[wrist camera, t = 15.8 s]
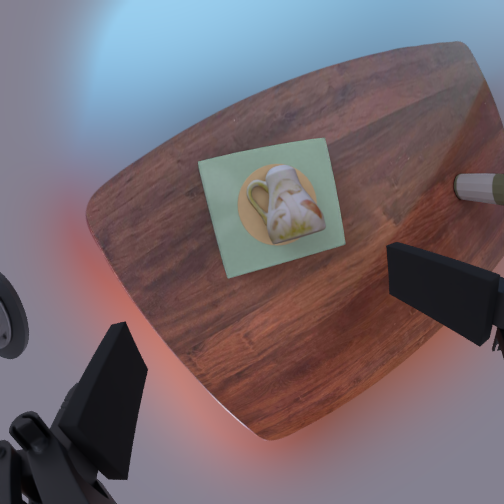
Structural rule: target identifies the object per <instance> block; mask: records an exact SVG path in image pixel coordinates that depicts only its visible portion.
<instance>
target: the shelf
mask: <svg viewBox="0 0 504 504" xmlns="http://www.w3.org/2000/svg"><path fill="white" fill-rule="evenodd" d="M279 165H289V166H291V167H293V168H294V169H295V170H296V173H297V176H298V179H299V182H300V184H301V185H302V187H303V188H304V190H305V191H306V192H307V193H308V194H309V196H310V197H311V198H312V199H313V200H314V202H315V203H316V204H317V205H318V207H319V208H320V210H321V211H322V213H323V216H324V220H325V224H326V228H325V229H324V230H322V231H320V232H317V233H313V234H310V235H307V236H304V237H300V238H297V239H293V240H290V241H286V242H282V243H278V244H272V242H271V240H270V237H269V235H268V230H267V226H266V225H265V224H264V221H263V219H262V217H261V216H260V215H259V213H258V212H257V211H256V209H255V208H254V207H253V206H252V205H251V204H250V202H249V200H248V198H247V187H248V185H249V184H250V183H251V182H252V181H253V180H262V181H264V182H265V181H266V180H265V178H266V175H267V173H268V171H269V170H270V169H272V168H273V167H276V166H279ZM198 168H199V172H200V176H201V181H202V185H203V189H204V193H205V197H206V201H207V205H208V209H209V213H210V217H211V220H212V224H213V228H214V232H215V236H216V240H217V243H218V247H219V251H220V255H221V258H222V262H223V266H224V269H225V272H226V274H227V277H228V278H232V277H235V276H239V275H242V274H246V273H249V272H253V271H256V270H260V269H263V268H267V267H270V266H274V265H277V264H281V263H284V262H288V261H291V260H295V259H298V258H301V257H305V256H308V255H312V254H315V253H318V252H322V251H325V250H328V249H332V248H335V247H338V246H342V245H345V238H344V231H343V225H342V219H341V213H340V207H339V202H338V196H337V191H336V186H335V181H334V176H333V172H332V167H331V162H330V158H329V154H328V149H327V145H326V141H325V138H317V139H310V140H303V141H297V142H290V143H284V144H278V145H273V146H267V147H262V148H257V149H252V150H247V151H242V152H237V153H233V154H228V155H224V156H220V157H215V158H211V159H207V160H203V161H199V162H198ZM252 196H253V199H254V200H255V201H256V203H257V204H258V205H259V206H260V207H261V208H262V209H263V210H264V211H265V212H266V213H268V206H269V194H268V193H267V192H266V191H265V190H264V188H263V187H261V186H258V187H255V188H254V189H253V190H252Z"/></svg>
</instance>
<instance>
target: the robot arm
mask: <svg viewBox="0 0 504 504" xmlns="http://www.w3.org/2000/svg"><path fill="white" fill-rule="evenodd" d="M386 247H387V259H388V273H389V294H391V295H392V296H394V297H396V298H398V299H399V300H401V301H403V302H405V303H407V304H408V305H410V306H412V307H414V308H415V309H417V310H419V311H421V312H422V313H424V314H426V315H428V316H429V317H431V318H433V319H434V320H436V321H438V322H440V323H441V324H443V325H445V326H446V327H448V328H450V329H451V330H453V331H455V332H457V333H458V334H460V335H462V336H463V337H465V338H467V339H468V340H470V341H472V342H473V343H475V344H476V345H478V346H481V345H482V344H483V343H484V342H486V341H487V340H488V339H489V338H490V334H491V329H492V325H495V326H497V331H496V335H495V339H494V343H493V347H492V351H495V347H496V345H497V344H499V346H498V350H501V351H502V354H503V358H504V278H503V277H500V275H499V274H496V273H493V272H491V271H488V270H485V269H482V268H479V267H476V266H473V265H470V264H467V263H464V262H461V261H458V260H455V259H452V258H449V257H446V256H442V255H439V254H436V253H433V252H430V251H426V250H423V249H420V248H416V247H413V246H409V245H406V244H403V243H399V242H395V243H393V244H390V245H387V246H386ZM12 336H13V325H12V320H11V317H10V314H9V311H8V309H7V307H6V305H5V303H4V301H3V300H2V298H1V297H0V349H1V348H4V347H5V346H7V345H8V344H9V343H10V341H11V339H12ZM147 371H148V369H147V366H146V365H145V363H144V361H143V359H142V357H141V354H140V352H139V351H138V348H137V346H136V344H135V342H134V340H133V337H132V335H131V333H130V331H129V328H128V326H127V324H126V322H121V323H117V324H112V325H111V326H110V328H109V330H108V331H107V333H106V335H105V336H104V338H103V340H102V341H101V343H100V345H99V347H98V349H97V350H96V352H95V354H94V355H93V357H92V359H91V361H90V363H89V365H88V366H87V368H86V370H85V372H84V374H83V375H82V377H81V379H80V381H79V383H76V384H75V385H74V386H73V387H72V388H71V389H70V391H69V392H68V394H67V396H66V397H65V399H64V400H65V402H63V403H62V405H61V409H59V411H58V413H57V415H56V417H55V419H54V421H53V423H52V425H51V428H50V429H49V428H48V427H47V426H46V424H45V423H44V422H43V420H42V419H41V418H40V417H39V415H38V414H37V413H35V412H33V411H30V412H25V413H23V414H21V415H19V416H18V417H17V418H16V419H15V420H14V421H13V422H12V424H11V426H10V428H9V433H10V435H11V436H12V437H13V438H14V439H15V440H16V441H17V443H18V444H19V445H20V446H21V447H22V448H23V449H22V450H15V449H14V447H13V446H12V445H11V444H10V443H9V442H8V441H6V440H2V441H0V504H27V503H26V502H25V501H23V500H22V494H24V495H25V496H26V497H27V498H28V499H29V504H117V503H116V502H115V501H114V499H113V498H112V497H111V495H110V494H109V492H108V491H107V490H106V488H105V487H104V485H103V484H102V483H101V482H100V481H99V480H98V479H97V473H98V470H99V471H100V472H101V473H102V474H103V475H104V476H105V477H106V478H108V479H113V480H127V479H128V472H129V465H130V458H131V452H132V446H133V439H134V433H135V428H136V423H137V418H138V412H139V408H140V403H141V398H142V393H143V389H144V384H145V380H146V376H147Z"/></svg>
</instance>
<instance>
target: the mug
mask: <svg viewBox="0 0 504 504" xmlns="http://www.w3.org/2000/svg"><path fill="white" fill-rule="evenodd" d="M265 180H266V181H265V182H264V181H262V180H253V181H252V182H251V183H250V184H249V185H248V187H247V198H248V200H249V202H250V204H251V205H252V206H253V207H254V208H255V209H256V211H257V212H258V213H259V215H260V216H261V217H262V219H263V221H264V224H265V225H266V226H267V230H268V235H269V237H270V240H271V242H272V244H278V243H282V242H286V241H290V240H293V239H297V238H300V237H304V236H307V235H310V234H313V233H317V232H320V231H322V230H324V229H325V228H326V224H325V220H324V216H323V213H322V211H321V210H320V208H319V207H318V205H317V204H316V203H315V202H314V200H313V199H312V198H311V197H310V196H309V194H308V193H307V192H306V191H305V190H304V188H303V187H302V185H301V184H300V182H299V179H298V176H297V173H296V170H295V169H294V168H293V167H291V166H289V165H279V166H276V167H273V168H272V169H270V170H269V171H268V173H267V175H266V178H265ZM258 186H261V187H263V188H264V190H265V191H266V192H267V193H268V194H269V206H268V213H266V212H265V211H264V210H263V209H262V208H261V207H260V206H259V205H258V204H257V203H256V201H255V200H254V199H253V196H252V190H253V189H254V188H255V187H258Z"/></svg>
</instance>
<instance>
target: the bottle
mask: <svg viewBox="0 0 504 504" xmlns="http://www.w3.org/2000/svg"><path fill="white" fill-rule="evenodd" d="M454 190H455V193H456V196H457V197H458V198H459V199H462V200H470V201H477V202H484V203H491V204H498V205H504V174H458V175H457V176H456V178H455V182H454Z"/></svg>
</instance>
